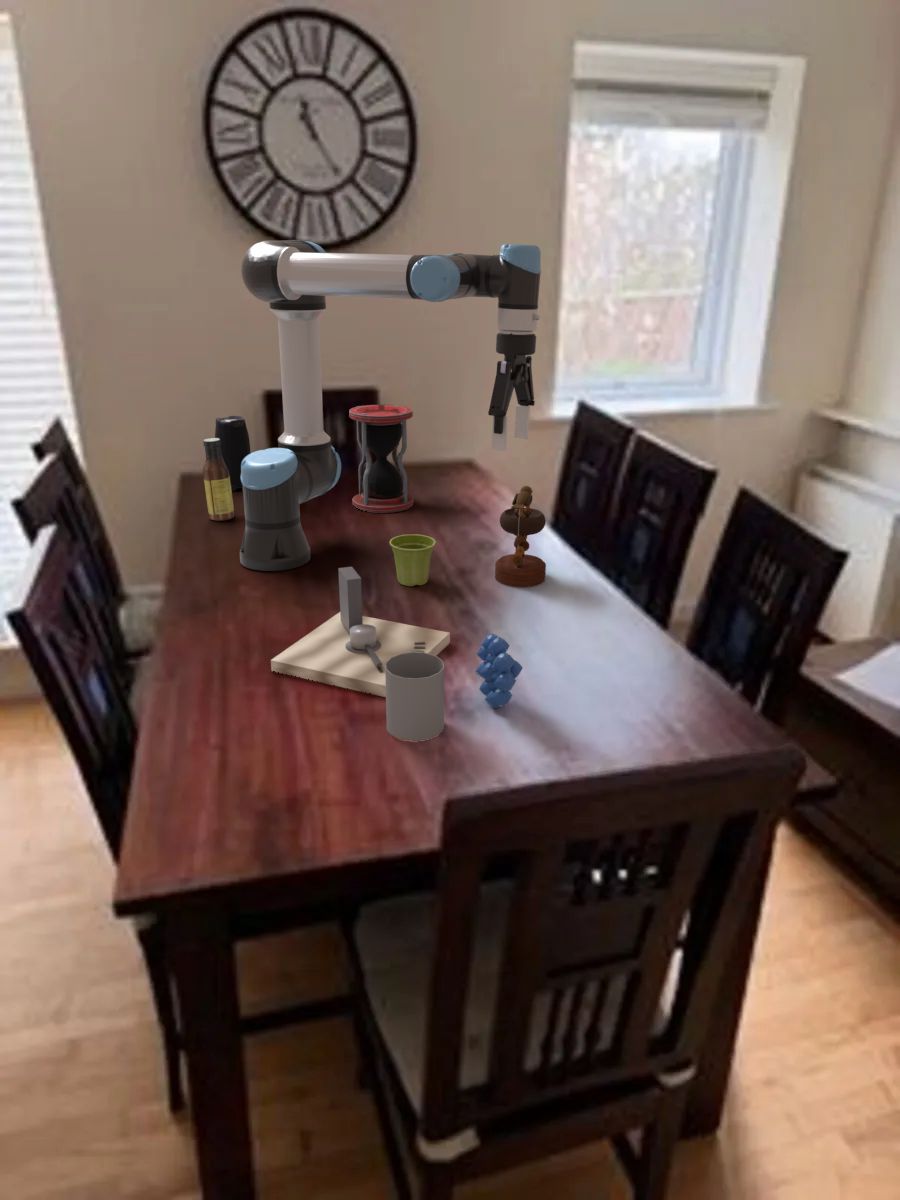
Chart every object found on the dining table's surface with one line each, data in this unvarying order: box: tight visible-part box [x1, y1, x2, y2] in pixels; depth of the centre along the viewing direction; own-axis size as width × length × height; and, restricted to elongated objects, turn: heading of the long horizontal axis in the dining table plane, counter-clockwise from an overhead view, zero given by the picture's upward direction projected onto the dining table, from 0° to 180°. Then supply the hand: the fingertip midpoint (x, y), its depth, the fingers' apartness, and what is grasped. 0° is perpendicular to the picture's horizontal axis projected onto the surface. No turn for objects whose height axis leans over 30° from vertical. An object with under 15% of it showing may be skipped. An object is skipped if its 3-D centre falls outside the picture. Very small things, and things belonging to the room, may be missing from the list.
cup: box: [385, 652, 445, 741], centre depth 126 cm, size 8×8×10 cm
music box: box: [494, 485, 547, 588], centre depth 181 cm, size 15×11×20 cm
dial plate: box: [270, 611, 451, 698], centre depth 148 cm, size 22×22×2 cm
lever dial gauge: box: [337, 566, 382, 667], centre depth 146 cm, size 20×4×10 cm, turn 21°
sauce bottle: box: [202, 437, 235, 522], centre depth 217 cm, size 7×6×20 cm
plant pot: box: [389, 533, 437, 587], centre depth 180 cm, size 9×9×9 cm
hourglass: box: [348, 404, 415, 514], centre depth 228 cm, size 16×16×25 cm
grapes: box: [475, 633, 523, 709], centre depth 131 cm, size 12×7×12 cm, turn 16°
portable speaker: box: [214, 415, 252, 492], centre depth 244 cm, size 9×9×20 cm
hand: (510, 444), depth 174 cm, fingers open, 13 cm apart
